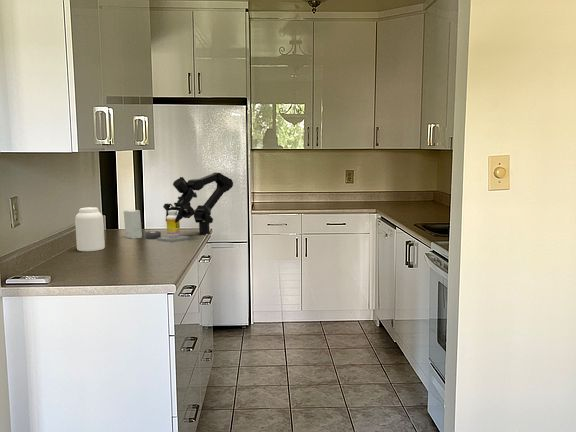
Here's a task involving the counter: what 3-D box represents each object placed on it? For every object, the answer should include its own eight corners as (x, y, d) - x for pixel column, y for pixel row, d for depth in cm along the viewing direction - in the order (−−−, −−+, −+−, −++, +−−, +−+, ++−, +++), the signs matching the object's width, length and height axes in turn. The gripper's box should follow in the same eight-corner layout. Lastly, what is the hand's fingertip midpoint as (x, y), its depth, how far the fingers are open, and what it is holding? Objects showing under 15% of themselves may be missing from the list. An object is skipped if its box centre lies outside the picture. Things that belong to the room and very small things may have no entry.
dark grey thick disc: (145, 237, 292) (145, 231, 291) (161, 236, 293) (160, 230, 293) (144, 239, 284) (144, 233, 283) (160, 238, 285) (160, 232, 285)
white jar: (104, 250, 253) (102, 208, 250) (76, 252, 249) (73, 209, 247) (105, 246, 265) (102, 205, 262) (77, 248, 261) (75, 207, 258)
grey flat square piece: (174, 237, 290) (174, 234, 290) (189, 238, 283) (189, 236, 283) (156, 240, 281) (156, 238, 281) (172, 242, 274) (172, 239, 274)
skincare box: (142, 237, 289) (141, 210, 288) (132, 239, 285) (130, 211, 283) (134, 236, 295) (133, 209, 294) (124, 237, 291) (123, 210, 289)
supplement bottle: (177, 236, 278) (175, 211, 276) (165, 236, 279) (163, 211, 278) (182, 234, 285) (180, 209, 283) (170, 233, 286) (169, 209, 284)
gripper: (206, 209, 287) (192, 232, 280) (181, 207, 298) (167, 229, 291) (194, 195, 280) (180, 219, 272) (170, 194, 291) (155, 217, 283)
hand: (170, 221), depth 280 cm, fingers closed on supplement bottle, 7 cm apart
